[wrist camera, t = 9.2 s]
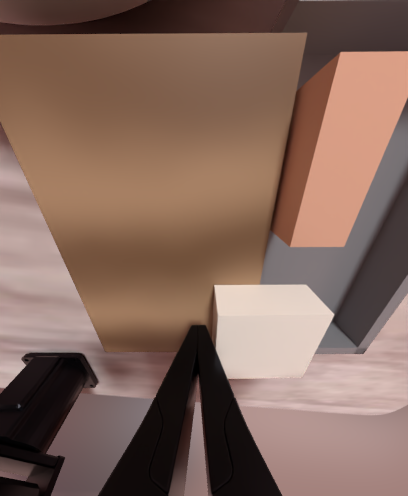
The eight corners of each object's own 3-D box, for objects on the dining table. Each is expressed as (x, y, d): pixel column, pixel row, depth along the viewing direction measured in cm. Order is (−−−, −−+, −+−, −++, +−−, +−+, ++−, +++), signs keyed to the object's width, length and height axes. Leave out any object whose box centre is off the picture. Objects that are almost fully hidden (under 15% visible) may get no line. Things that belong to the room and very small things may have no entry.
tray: (335, 322, 15) (363, 353, 13) (234, 322, 15) (241, 354, 13) (485, 36, 7) (655, -47, 4) (268, 37, 7) (306, -44, 4)
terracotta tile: (252, 214, 10) (282, 214, 10) (289, 247, 6) (344, 246, 6) (264, 119, 8) (303, 119, 8) (341, 52, 4) (428, 50, 4)
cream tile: (284, 343, 11) (301, 377, 9) (211, 343, 11) (213, 379, 9) (306, 284, 8) (334, 314, 7) (214, 285, 8) (217, 315, 7)
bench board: (236, 307, 15) (246, 351, 11) (129, 307, 15) (105, 352, 11) (261, 95, 8) (307, 32, 4) (68, 96, 8) (-40, 35, 4)
